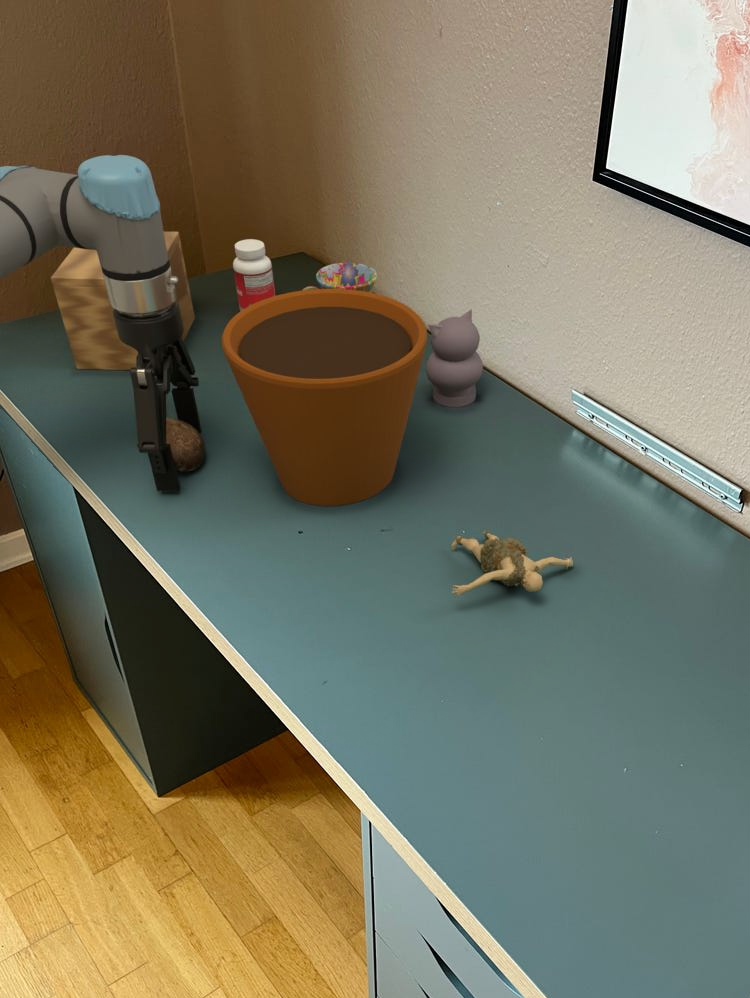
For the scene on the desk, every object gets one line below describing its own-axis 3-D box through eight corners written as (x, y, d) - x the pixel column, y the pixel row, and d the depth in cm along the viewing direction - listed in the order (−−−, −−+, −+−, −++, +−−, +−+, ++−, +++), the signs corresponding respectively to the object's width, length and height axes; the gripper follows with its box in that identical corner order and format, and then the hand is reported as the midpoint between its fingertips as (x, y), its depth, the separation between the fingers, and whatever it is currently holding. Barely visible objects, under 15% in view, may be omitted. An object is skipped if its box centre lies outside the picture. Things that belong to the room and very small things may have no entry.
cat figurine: (448, 416, 136) (448, 337, 128) (414, 395, 141) (413, 317, 132) (493, 398, 141) (496, 320, 132) (459, 377, 145) (460, 301, 136)
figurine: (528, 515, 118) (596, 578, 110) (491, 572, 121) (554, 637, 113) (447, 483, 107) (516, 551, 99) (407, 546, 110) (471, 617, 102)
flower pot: (371, 410, 137) (363, 273, 123) (463, 490, 123) (466, 346, 109) (216, 459, 127) (188, 316, 113) (298, 553, 113) (278, 402, 99)
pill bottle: (242, 303, 161) (231, 237, 154) (278, 303, 162) (270, 237, 154) (238, 319, 157) (227, 252, 149) (275, 319, 157) (267, 252, 150)
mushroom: (122, 445, 123) (143, 410, 120) (165, 439, 130) (187, 406, 126) (161, 491, 122) (184, 457, 119) (202, 482, 129) (225, 450, 126)
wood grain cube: (76, 369, 143) (50, 277, 134) (109, 316, 157) (87, 229, 147) (170, 371, 144) (150, 279, 134) (195, 318, 157) (178, 231, 147)
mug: (372, 323, 157) (369, 259, 150) (386, 349, 151) (383, 283, 143) (300, 332, 154) (293, 267, 147) (311, 358, 148) (304, 292, 140)
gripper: (151, 355, 102) (189, 516, 117) (199, 262, 120) (226, 411, 135) (81, 354, 102) (127, 515, 116) (139, 260, 120) (173, 410, 134)
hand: (180, 460), depth 126 cm, fingers open, 13 cm apart
